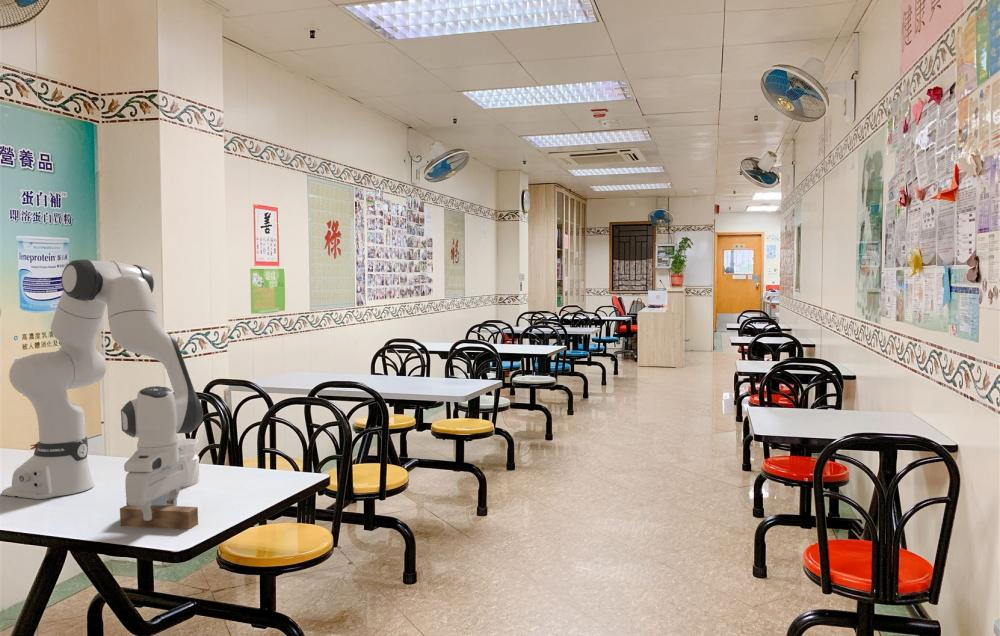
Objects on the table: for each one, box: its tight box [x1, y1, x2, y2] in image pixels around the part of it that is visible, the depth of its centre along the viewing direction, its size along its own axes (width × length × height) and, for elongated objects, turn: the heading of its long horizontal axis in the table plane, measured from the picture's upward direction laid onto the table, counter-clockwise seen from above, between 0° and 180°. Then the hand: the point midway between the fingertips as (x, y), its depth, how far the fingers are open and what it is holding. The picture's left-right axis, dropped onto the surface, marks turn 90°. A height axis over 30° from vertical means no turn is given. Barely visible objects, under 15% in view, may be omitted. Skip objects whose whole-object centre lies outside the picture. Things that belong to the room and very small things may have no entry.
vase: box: [178, 438, 201, 488], centre depth 206 cm, size 9×9×12 cm
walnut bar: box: [119, 504, 199, 530], centre depth 171 cm, size 18×4×4 cm, turn 81°
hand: (160, 513), depth 171 cm, fingers open, 8 cm apart
